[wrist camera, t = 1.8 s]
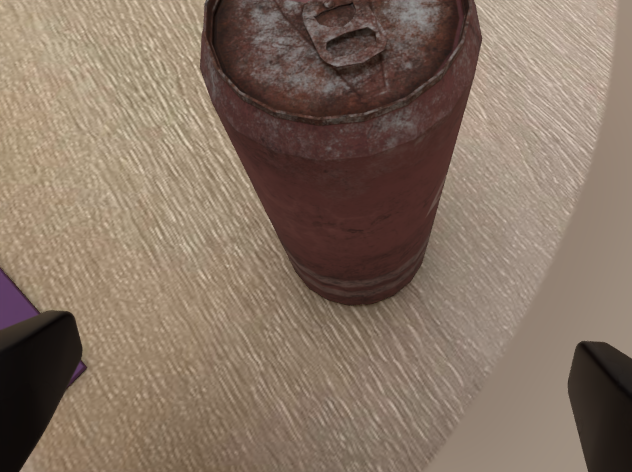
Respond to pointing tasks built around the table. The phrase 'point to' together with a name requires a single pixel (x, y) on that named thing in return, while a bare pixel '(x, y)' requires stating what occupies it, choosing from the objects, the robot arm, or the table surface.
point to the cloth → (19, 310)
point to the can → (344, 125)
